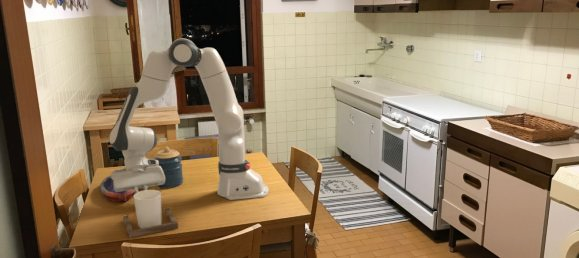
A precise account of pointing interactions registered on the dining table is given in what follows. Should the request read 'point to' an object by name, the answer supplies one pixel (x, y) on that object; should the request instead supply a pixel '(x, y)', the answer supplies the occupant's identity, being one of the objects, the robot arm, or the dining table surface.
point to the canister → (170, 167)
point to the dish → (110, 194)
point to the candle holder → (148, 208)
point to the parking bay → (153, 229)
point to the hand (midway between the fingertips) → (142, 197)
